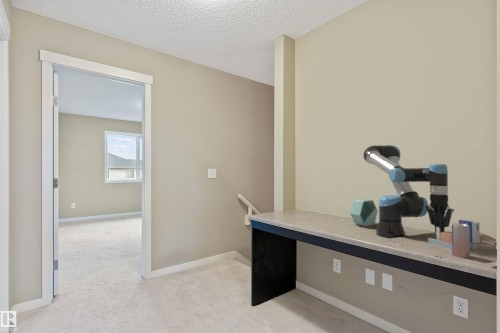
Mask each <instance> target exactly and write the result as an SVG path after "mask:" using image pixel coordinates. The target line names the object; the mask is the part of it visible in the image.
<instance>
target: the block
mask: <svg viewBox="0 0 500 333" xmlns="http://www.w3.org/2000/svg"><path fill="white" fill-rule="evenodd" d="M440 241H443V242H447V243H451V244H452V231H445V232H441V233H440Z"/></svg>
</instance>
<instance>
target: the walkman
mask: <svg viewBox="0 0 500 333" xmlns="http://www.w3.org/2000/svg"><path fill="white" fill-rule="evenodd" d="M458 224H466V225H469V228H470V243H472V244H474V243H475V244H479V243H480V242H481V238H480V233H481V232H480V222H477V221H471V220H465V219H459V220H458Z"/></svg>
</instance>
